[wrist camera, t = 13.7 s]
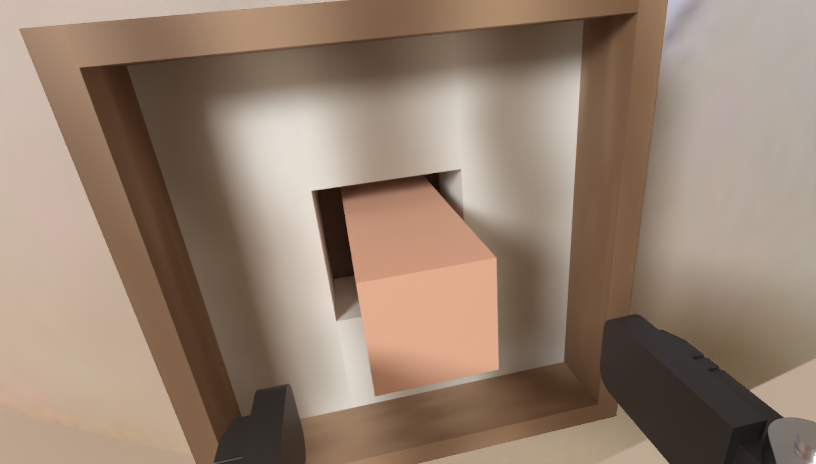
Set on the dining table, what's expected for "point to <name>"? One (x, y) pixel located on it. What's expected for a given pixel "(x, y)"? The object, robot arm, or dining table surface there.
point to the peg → (420, 285)
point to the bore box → (355, 164)
